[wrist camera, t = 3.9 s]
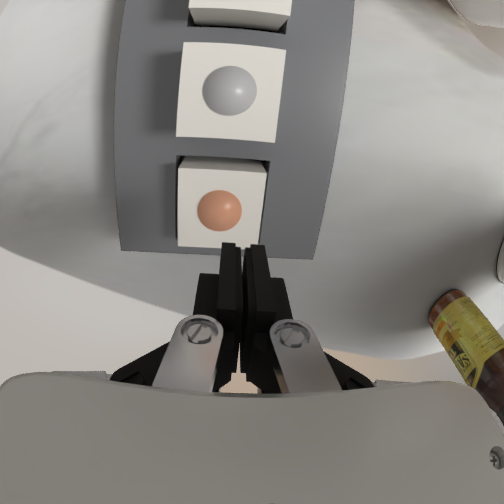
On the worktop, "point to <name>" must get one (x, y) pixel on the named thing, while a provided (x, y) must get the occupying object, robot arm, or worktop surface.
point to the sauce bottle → (471, 346)
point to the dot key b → (241, 13)
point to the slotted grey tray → (273, 154)
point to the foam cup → (481, 11)
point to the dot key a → (219, 201)
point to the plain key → (229, 91)
